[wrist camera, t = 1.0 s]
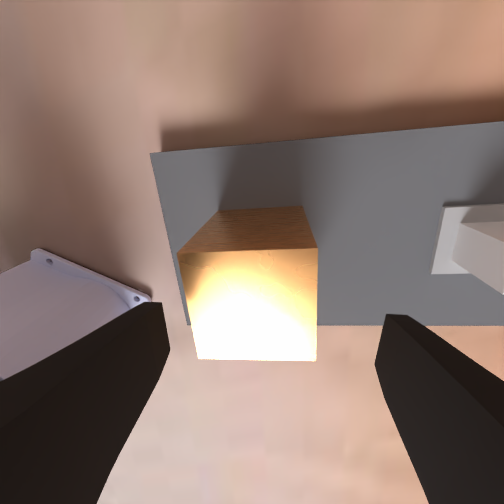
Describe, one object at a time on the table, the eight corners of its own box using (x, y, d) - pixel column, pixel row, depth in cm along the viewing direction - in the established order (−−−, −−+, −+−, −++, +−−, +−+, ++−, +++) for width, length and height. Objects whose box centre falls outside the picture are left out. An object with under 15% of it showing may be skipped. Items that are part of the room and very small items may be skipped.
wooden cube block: (227, 283, 17) (198, 358, 11) (217, 210, 15) (176, 253, 9) (302, 281, 16) (315, 360, 10) (302, 205, 15) (317, 248, 8)
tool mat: (193, 313, 20) (164, 368, 15) (161, 152, 16) (104, 155, 11) (532, 311, 17) (638, 380, 12) (614, 111, 13) (836, 88, 8)
